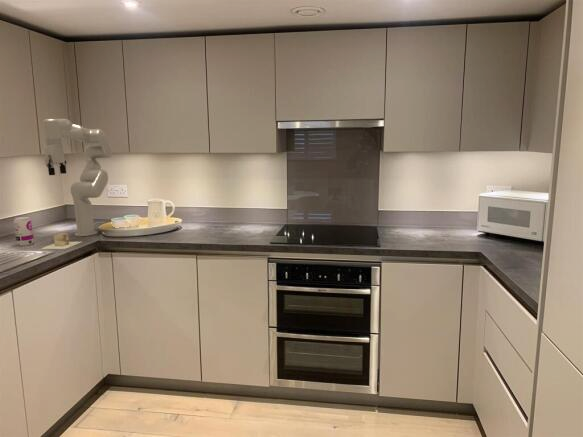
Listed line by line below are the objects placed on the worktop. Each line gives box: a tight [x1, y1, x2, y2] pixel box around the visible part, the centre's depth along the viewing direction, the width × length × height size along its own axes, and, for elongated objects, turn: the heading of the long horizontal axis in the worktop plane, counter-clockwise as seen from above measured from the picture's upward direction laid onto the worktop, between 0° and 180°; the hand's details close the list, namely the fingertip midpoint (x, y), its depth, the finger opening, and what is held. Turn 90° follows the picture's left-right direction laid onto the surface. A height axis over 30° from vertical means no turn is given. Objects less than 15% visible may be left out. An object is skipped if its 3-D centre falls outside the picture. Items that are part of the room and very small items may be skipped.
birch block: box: [53, 232, 70, 246], centre depth 241 cm, size 5×5×6 cm
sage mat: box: [40, 241, 83, 250], centre depth 242 cm, size 16×14×1 cm
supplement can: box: [13, 216, 35, 247], centre depth 245 cm, size 8×8×15 cm
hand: (57, 174), depth 243 cm, fingers open, 9 cm apart
